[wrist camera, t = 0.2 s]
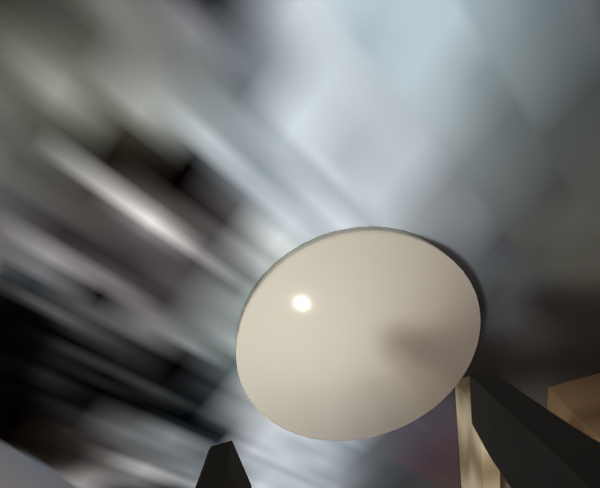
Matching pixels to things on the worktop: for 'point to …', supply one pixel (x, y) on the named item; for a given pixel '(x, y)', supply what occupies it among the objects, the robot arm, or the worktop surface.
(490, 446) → the robot arm
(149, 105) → the worktop surface
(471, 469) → the wooden u-shaped frame
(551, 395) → the walnut block
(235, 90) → the worktop surface
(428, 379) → the ceramic plate
